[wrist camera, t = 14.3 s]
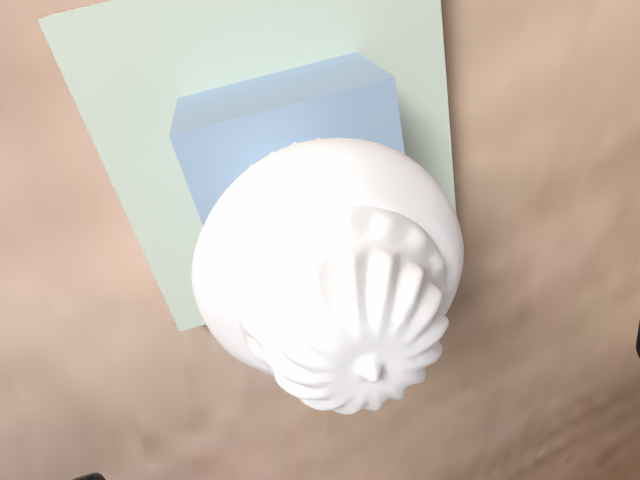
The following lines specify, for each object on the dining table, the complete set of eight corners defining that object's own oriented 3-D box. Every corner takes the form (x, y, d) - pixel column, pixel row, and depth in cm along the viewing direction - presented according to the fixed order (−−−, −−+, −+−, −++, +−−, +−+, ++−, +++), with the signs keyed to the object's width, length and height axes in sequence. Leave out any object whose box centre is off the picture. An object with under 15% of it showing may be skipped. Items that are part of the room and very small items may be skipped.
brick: (356, 51, 17) (394, 76, 13) (382, 210, 20) (418, 264, 16) (177, 97, 16) (168, 136, 13) (231, 252, 19) (236, 315, 16)
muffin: (423, 96, 14) (589, 207, 8) (398, 286, 17) (504, 474, 11) (184, 99, 13) (163, 232, 7) (204, 302, 16) (200, 521, 10)
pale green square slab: (417, -74, 17) (434, -77, 15) (445, 235, 23) (459, 252, 21) (51, 14, 16) (37, 19, 15) (181, 309, 22) (179, 331, 21)
